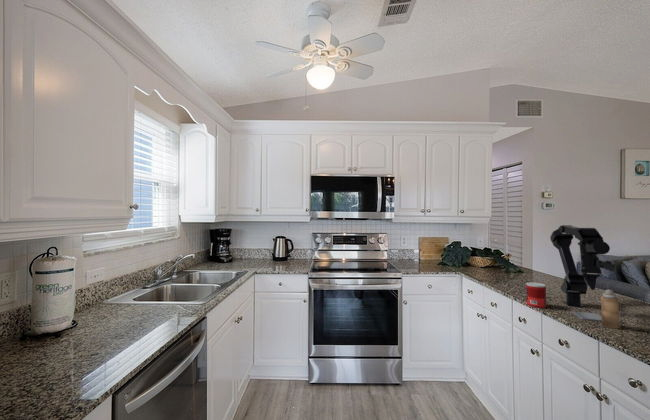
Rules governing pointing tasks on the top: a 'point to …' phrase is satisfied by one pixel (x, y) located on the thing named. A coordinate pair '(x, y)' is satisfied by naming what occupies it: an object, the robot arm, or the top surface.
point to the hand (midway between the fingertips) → (592, 289)
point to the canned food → (536, 295)
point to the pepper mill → (609, 310)
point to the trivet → (588, 316)
